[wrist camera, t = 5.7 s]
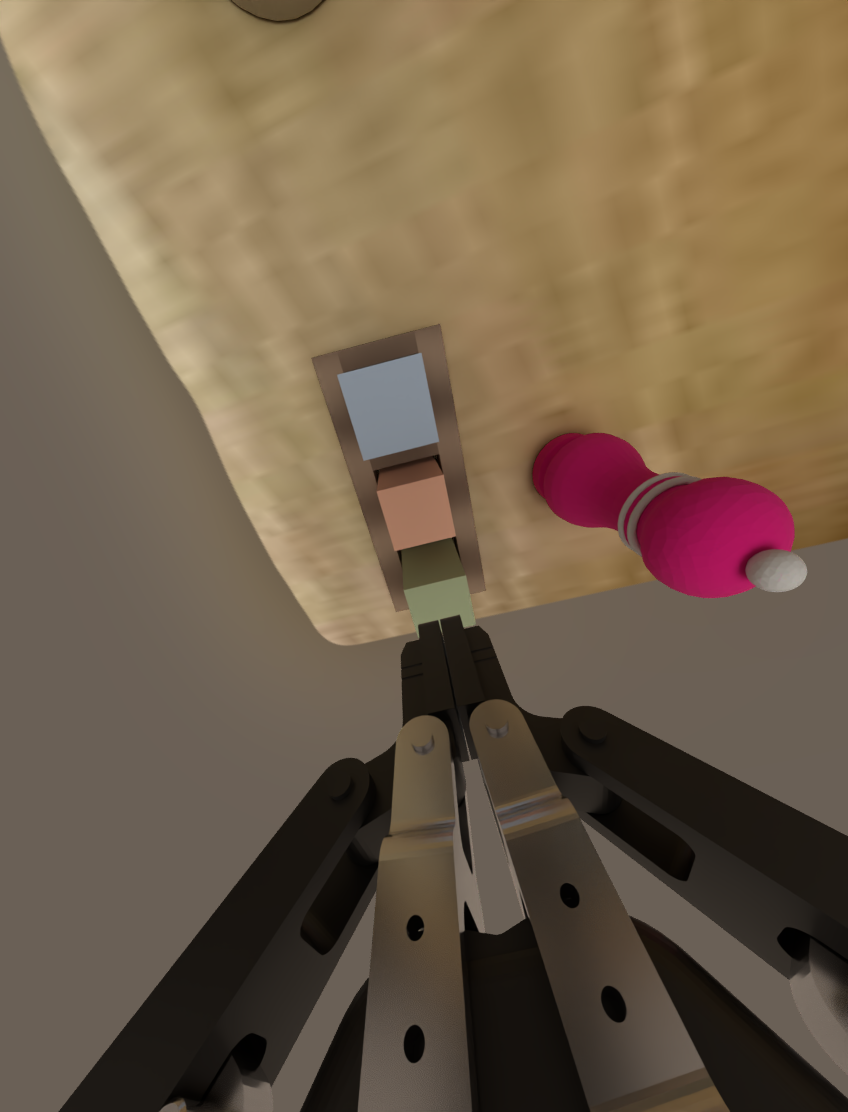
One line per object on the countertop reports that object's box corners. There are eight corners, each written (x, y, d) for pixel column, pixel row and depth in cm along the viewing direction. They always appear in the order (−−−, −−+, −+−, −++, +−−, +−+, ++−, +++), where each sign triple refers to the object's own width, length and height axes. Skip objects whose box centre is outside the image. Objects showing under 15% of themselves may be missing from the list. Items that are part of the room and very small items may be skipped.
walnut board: (319, 360, 26) (311, 357, 23) (435, 330, 25) (440, 323, 23) (395, 595, 36) (396, 612, 33) (479, 575, 35) (485, 590, 33)
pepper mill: (615, 475, 32) (900, 592, 14) (548, 520, 33) (727, 676, 15) (584, 408, 29) (896, 447, 11) (512, 461, 30) (682, 570, 12)
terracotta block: (379, 468, 29) (376, 491, 23) (432, 455, 29) (443, 474, 22) (394, 517, 31) (394, 551, 25) (443, 505, 31) (455, 536, 24)
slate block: (351, 377, 24) (336, 374, 18) (413, 361, 24) (421, 352, 18) (370, 442, 26) (363, 460, 20) (428, 428, 26) (439, 441, 20)
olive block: (401, 548, 30) (403, 590, 24) (450, 536, 30) (465, 575, 24) (413, 589, 33) (418, 638, 26) (459, 578, 32) (475, 624, 26)
